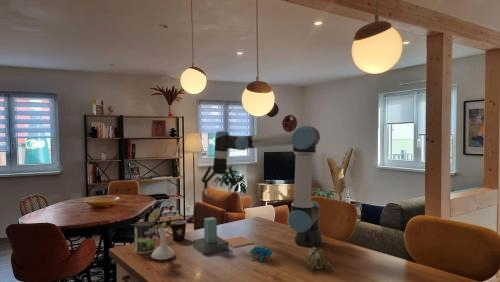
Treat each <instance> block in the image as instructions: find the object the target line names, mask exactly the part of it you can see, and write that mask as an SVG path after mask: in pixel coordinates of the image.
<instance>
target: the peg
mask: <svg viewBox="0 0 500 282" xmlns="http://www.w3.org/2000/svg"><path fill="white" fill-rule="evenodd" d="M217 222H218V219H217V218H215V217H214V216H211V217H205V218H203V232H204V234H203V238H204V242H206V243H207V244H210V243H215V242H217V236H218V232H217V231H218V227H217V225H218V223H217Z"/></svg>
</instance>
